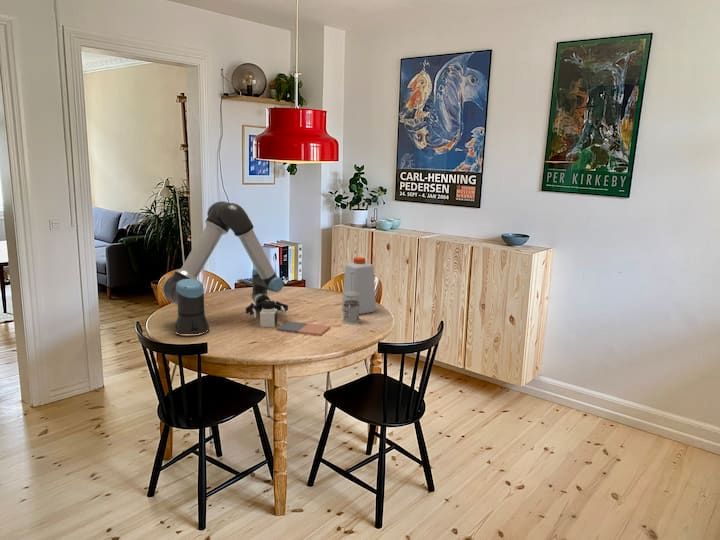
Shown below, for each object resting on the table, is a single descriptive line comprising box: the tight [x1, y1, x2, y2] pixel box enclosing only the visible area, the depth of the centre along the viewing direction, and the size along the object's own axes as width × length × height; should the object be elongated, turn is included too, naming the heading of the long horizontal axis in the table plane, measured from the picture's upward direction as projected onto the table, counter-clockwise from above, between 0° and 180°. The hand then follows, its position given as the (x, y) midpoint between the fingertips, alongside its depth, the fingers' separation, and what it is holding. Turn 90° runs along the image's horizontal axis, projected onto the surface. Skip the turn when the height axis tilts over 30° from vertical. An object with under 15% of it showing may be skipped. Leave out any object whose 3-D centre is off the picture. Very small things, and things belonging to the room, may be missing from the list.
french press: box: [341, 271, 362, 325], centre depth 266 cm, size 10×12×25 cm
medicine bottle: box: [259, 299, 278, 328], centre depth 259 cm, size 7×7×12 cm
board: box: [275, 320, 331, 337], centre depth 255 cm, size 12×22×1 cm, turn 71°
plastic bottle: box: [341, 256, 377, 315], centre depth 283 cm, size 15×15×28 cm
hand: (269, 313), depth 256 cm, fingers open, 13 cm apart
